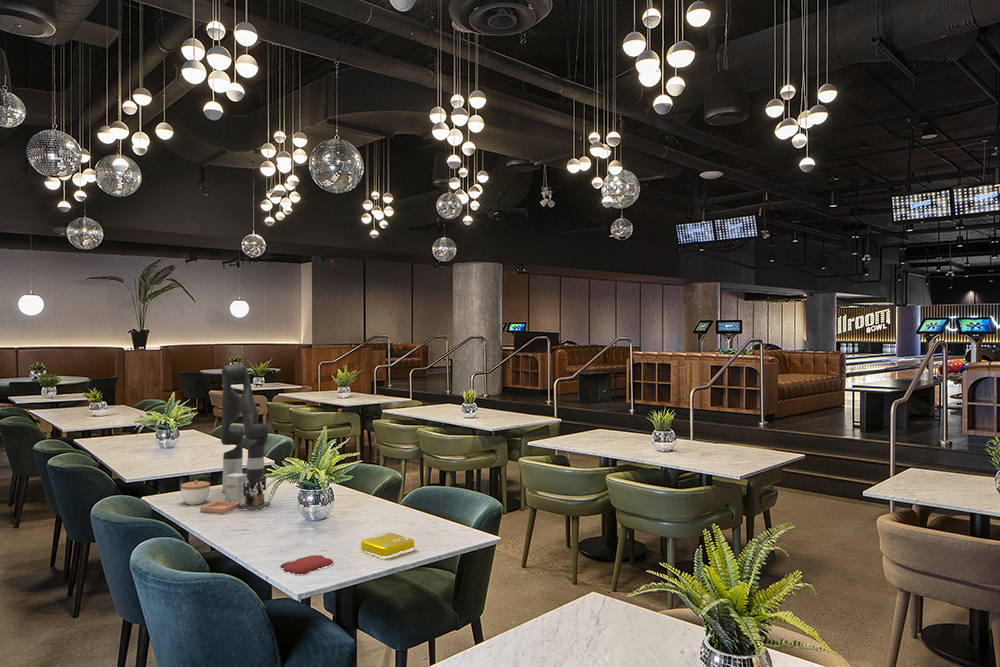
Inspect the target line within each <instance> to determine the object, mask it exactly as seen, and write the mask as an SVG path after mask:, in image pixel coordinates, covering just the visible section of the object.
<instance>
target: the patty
mask: <svg viewBox="0 0 1000 667" xmlns="http://www.w3.org/2000/svg"><path fill="white" fill-rule="evenodd" d="M333 561H334V560H332V559H331V558H329V557H328V558H327V557H325V556H323V555H321V554H320V555H319V554H316V555H308V556H304V557H299V558H297V559H296V560H293V561H292V560H291V561H287V562H283V563H282V564H281V565H280V567H281V568H284V569H282V571H283V570H284V571H285V572H290V573H295V574H306V573H308V572H310V571H314V570H317V569H318V568H322V567H325V566H329V565H331V564H332V563H333ZM281 568H280V569H281ZM318 570H319V569H318ZM318 570H317V571H318ZM285 572H284V573H285ZM314 572H315V571H314ZM310 573H311V572H310Z"/></svg>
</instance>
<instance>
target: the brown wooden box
mask: <svg viewBox="0 0 1000 667" xmlns="http://www.w3.org/2000/svg"><path fill="white" fill-rule="evenodd" d="M264 501H265V493H263V494H258V492H257V496H253V494H252V504H251V505H255V506H257V505H259V504H262V503H264ZM244 503H245V505H247V496H245V500H244Z"/></svg>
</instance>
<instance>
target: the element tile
mask: <svg viewBox="0 0 1000 667" xmlns="http://www.w3.org/2000/svg"><path fill="white" fill-rule="evenodd" d="M360 543H361V544H360V551H361V550H363V551H367V552H370V553H374V554H377V555H380V556H389V555H392V554H395V553H398V552H400V551H404V550H407V549H410V548H413V547H414V548H415V540H414V539H413V538H409V537H406V536H405V535H404V536H403V535H401V534H400V535H399V534H396V533H393V532H387V533H384V534H380V535H375V536H372V537H369V538H365V539H362V540H361V541H360Z"/></svg>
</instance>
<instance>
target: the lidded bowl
mask: <svg viewBox="0 0 1000 667" xmlns="http://www.w3.org/2000/svg"><path fill="white" fill-rule="evenodd" d="M210 487H211V482H209V481H203V480H199V481H198V479H194V481H189V482H184V483H182V484H180V493H181V499H182V501H184V503H185V504H186V505H188V504H189V505H190V506H196V505H195V504H198V505H201V503H202V504H204V502H206V500H207V499H208V497H209V495H210Z"/></svg>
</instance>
